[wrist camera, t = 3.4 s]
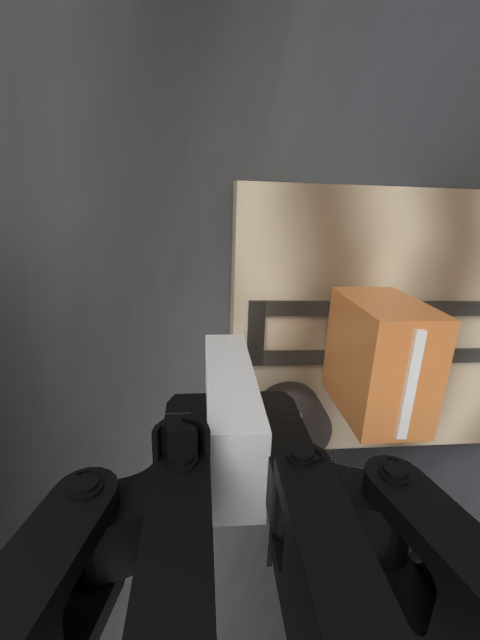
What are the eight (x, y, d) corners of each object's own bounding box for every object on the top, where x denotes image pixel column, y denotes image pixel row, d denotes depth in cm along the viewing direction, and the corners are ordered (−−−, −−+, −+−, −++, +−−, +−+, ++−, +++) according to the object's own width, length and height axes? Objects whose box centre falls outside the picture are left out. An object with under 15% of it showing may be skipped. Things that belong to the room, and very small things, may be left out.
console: (227, 431, 23) (233, 481, 19) (233, 181, 19) (243, 179, 15) (533, 420, 25) (596, 464, 21) (605, 194, 21) (702, 196, 17)
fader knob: (321, 382, 20) (362, 447, 15) (332, 286, 18) (382, 323, 13) (377, 381, 20) (436, 444, 15) (393, 286, 18) (465, 322, 13)
